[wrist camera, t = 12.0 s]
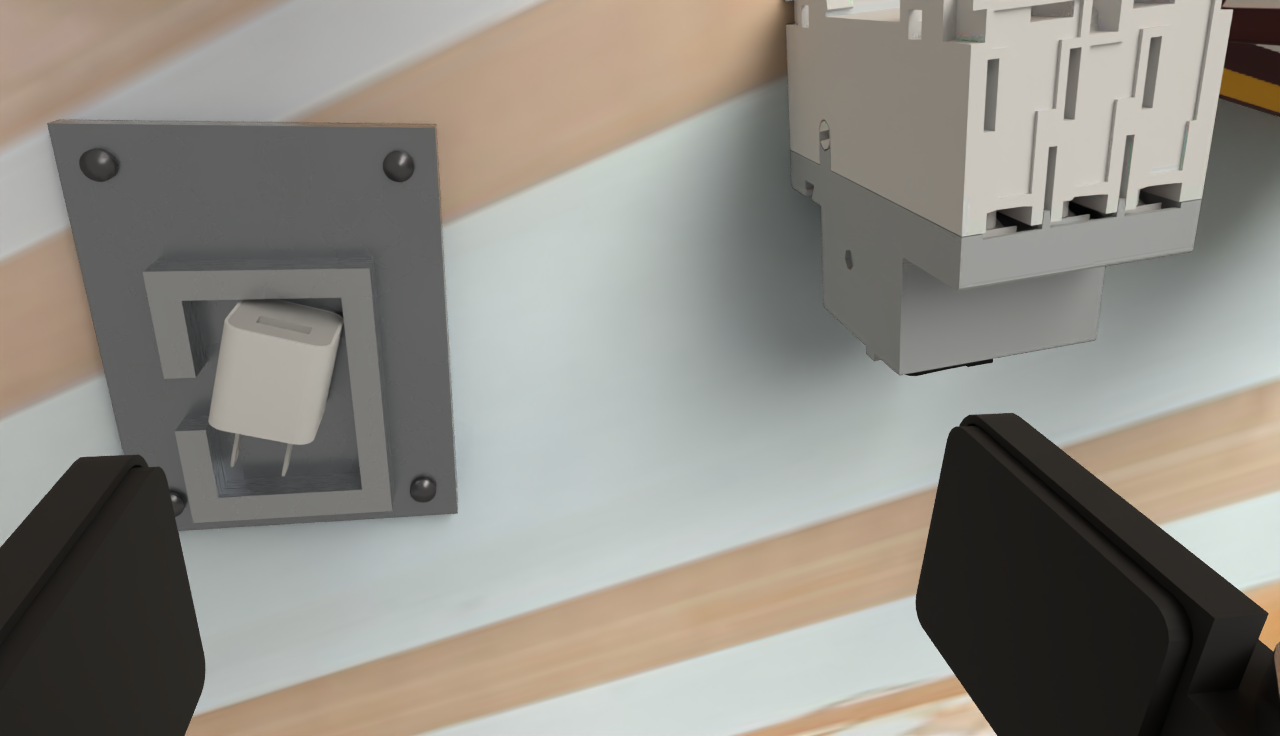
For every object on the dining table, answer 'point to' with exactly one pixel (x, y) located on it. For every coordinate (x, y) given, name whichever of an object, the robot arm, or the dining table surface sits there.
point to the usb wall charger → (274, 372)
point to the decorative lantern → (1253, 55)
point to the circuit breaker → (996, 161)
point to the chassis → (269, 269)
